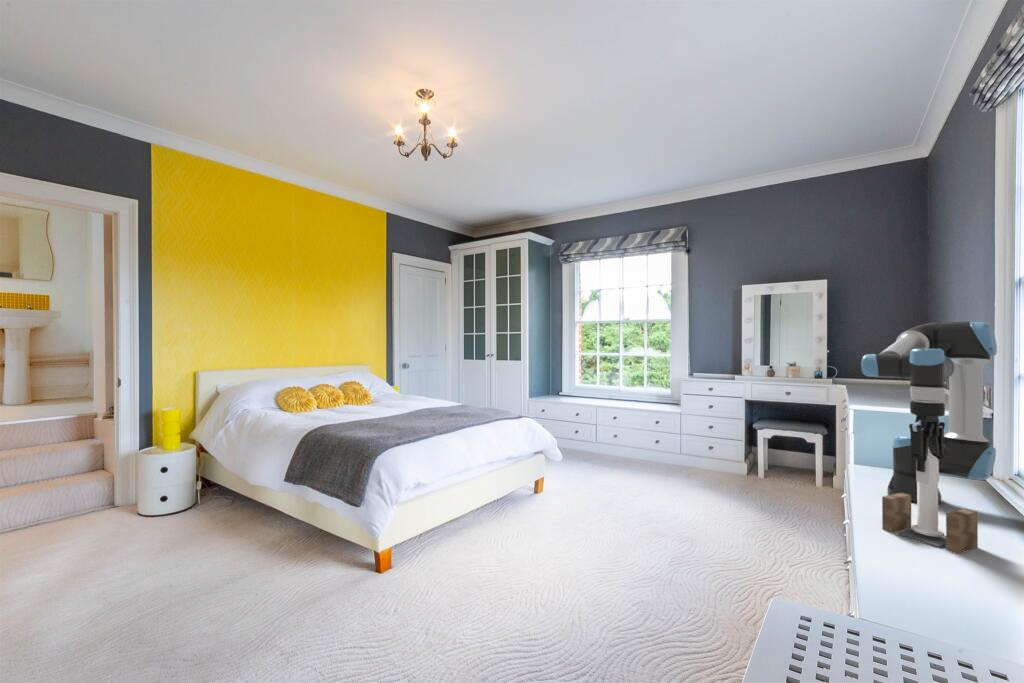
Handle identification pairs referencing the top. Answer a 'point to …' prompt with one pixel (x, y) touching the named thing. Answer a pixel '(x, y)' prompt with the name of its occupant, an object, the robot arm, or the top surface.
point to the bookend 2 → (961, 530)
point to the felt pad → (924, 538)
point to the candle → (928, 502)
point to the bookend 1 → (896, 512)
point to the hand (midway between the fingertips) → (927, 481)
